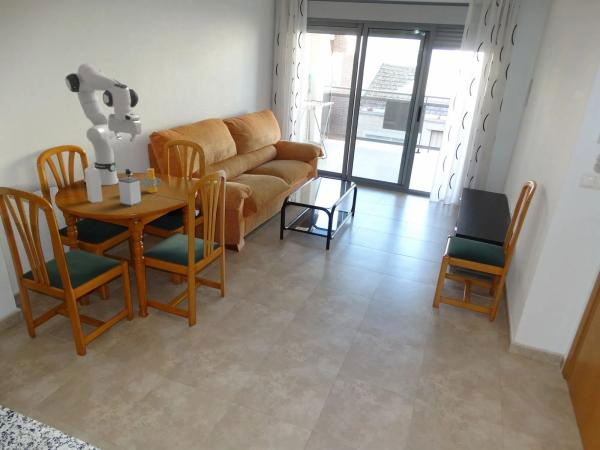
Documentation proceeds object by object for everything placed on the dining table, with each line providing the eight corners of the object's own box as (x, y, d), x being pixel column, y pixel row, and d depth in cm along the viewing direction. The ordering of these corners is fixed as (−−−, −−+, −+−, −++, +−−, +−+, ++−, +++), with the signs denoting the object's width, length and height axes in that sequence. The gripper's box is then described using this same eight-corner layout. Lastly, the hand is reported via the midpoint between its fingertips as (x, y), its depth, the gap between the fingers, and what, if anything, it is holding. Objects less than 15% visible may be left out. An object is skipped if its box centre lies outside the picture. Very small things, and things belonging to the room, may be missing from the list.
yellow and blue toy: (154, 195, 262) (153, 172, 257) (139, 193, 264) (137, 170, 259) (164, 190, 274) (163, 168, 268) (149, 188, 275) (148, 166, 270)
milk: (98, 198, 249) (94, 162, 241) (102, 201, 246) (98, 164, 238) (87, 200, 245) (83, 164, 237) (92, 203, 241) (87, 166, 233)
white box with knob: (120, 204, 243) (118, 179, 238) (135, 198, 254) (133, 175, 248) (131, 206, 241) (129, 181, 235) (145, 201, 251) (143, 177, 246)
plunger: (123, 201, 243) (120, 169, 236) (130, 199, 248) (127, 167, 241) (131, 203, 242) (128, 171, 235) (137, 200, 246) (135, 169, 239)
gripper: (104, 113, 227) (106, 139, 232) (134, 117, 221) (136, 143, 226) (112, 112, 233) (115, 137, 238) (142, 116, 226) (144, 142, 231)
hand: (125, 140), depth 232 cm, fingers open, 8 cm apart
